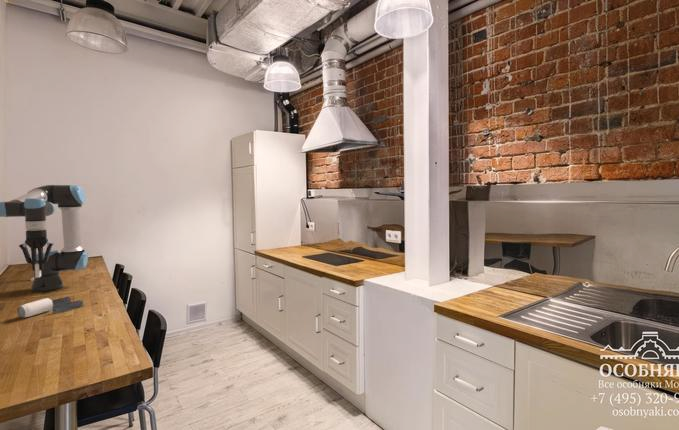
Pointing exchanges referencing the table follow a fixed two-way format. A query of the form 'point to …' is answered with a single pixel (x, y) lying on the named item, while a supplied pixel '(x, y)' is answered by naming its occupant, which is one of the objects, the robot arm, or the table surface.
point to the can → (35, 308)
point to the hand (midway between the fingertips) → (38, 276)
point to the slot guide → (65, 305)
